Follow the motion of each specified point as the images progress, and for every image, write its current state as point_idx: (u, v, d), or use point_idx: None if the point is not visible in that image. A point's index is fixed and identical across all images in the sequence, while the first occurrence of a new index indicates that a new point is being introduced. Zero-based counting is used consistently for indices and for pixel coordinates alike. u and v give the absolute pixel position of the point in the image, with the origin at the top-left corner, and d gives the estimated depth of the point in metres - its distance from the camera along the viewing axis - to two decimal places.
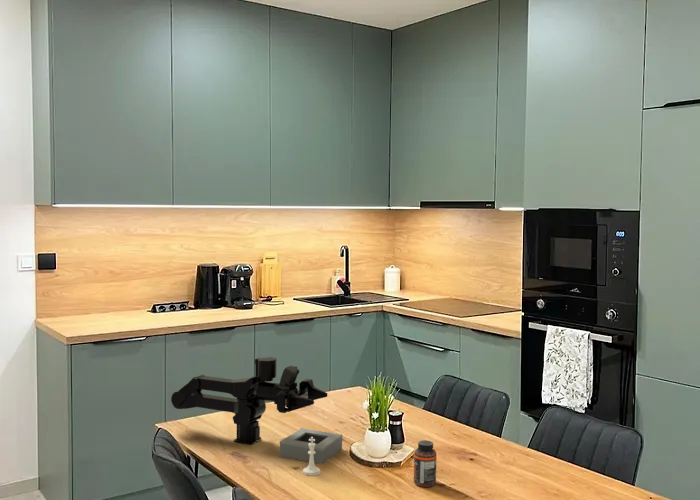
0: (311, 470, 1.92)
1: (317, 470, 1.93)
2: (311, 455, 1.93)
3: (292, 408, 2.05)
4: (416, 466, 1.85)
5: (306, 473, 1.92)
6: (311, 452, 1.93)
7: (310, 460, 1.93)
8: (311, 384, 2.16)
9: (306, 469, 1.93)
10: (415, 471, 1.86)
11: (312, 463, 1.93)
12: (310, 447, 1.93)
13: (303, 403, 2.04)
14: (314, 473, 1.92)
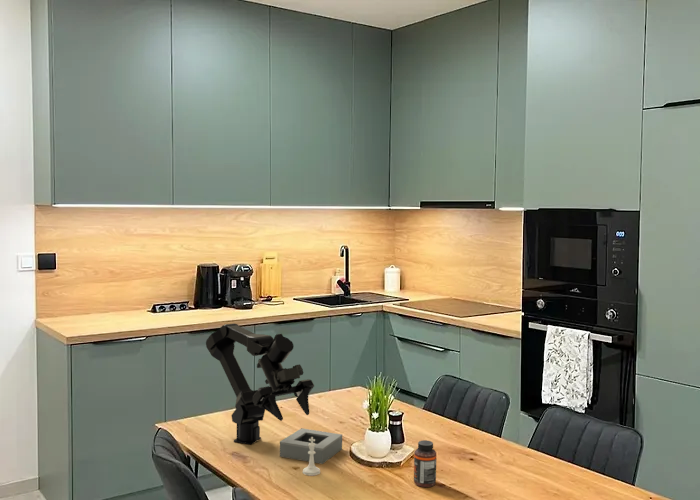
0: (311, 470, 1.92)
1: (317, 470, 1.93)
2: (311, 455, 1.93)
3: (265, 407, 1.99)
4: (416, 466, 1.85)
5: (306, 473, 1.92)
6: (311, 452, 1.93)
7: (310, 460, 1.93)
8: (306, 391, 2.05)
9: (306, 469, 1.93)
10: (415, 471, 1.86)
11: (312, 463, 1.93)
12: (310, 447, 1.93)
13: (274, 412, 1.97)
14: (314, 473, 1.92)
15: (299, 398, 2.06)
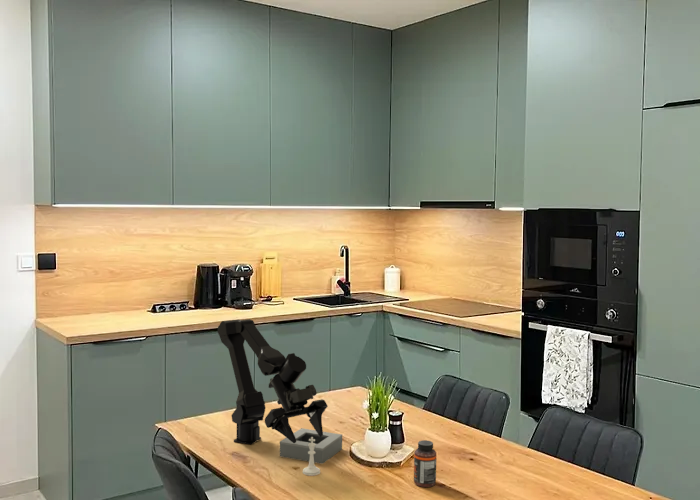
0: (311, 470, 1.92)
1: (317, 470, 1.93)
2: (311, 455, 1.93)
3: (277, 428, 1.94)
4: (416, 466, 1.85)
5: (306, 473, 1.92)
6: (311, 452, 1.93)
7: (310, 460, 1.93)
8: (319, 412, 2.00)
9: (306, 469, 1.93)
10: (415, 471, 1.86)
11: (312, 463, 1.93)
12: (310, 447, 1.93)
13: (287, 434, 1.92)
14: (314, 473, 1.92)
15: (312, 419, 2.01)
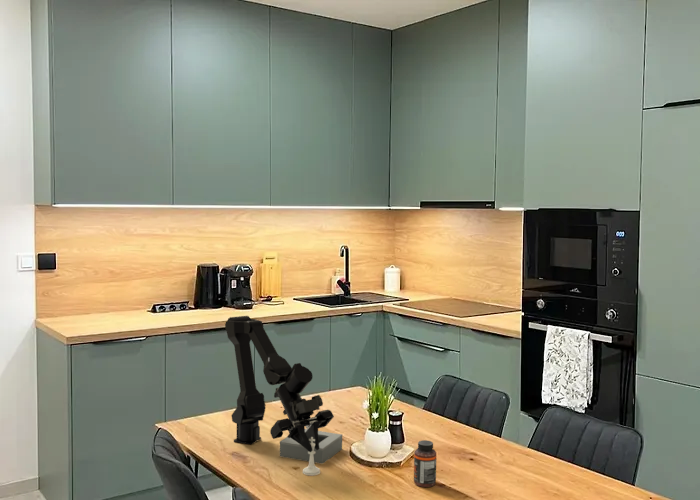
0: (311, 470, 1.92)
1: (317, 470, 1.93)
2: (311, 455, 1.93)
3: (293, 437, 1.94)
4: (416, 466, 1.85)
5: (306, 473, 1.92)
6: (311, 452, 1.93)
7: (310, 460, 1.93)
8: (316, 425, 1.96)
9: (306, 469, 1.93)
10: (415, 471, 1.86)
11: (312, 463, 1.93)
12: None
13: (303, 443, 1.93)
14: (314, 473, 1.92)
15: (308, 432, 1.97)
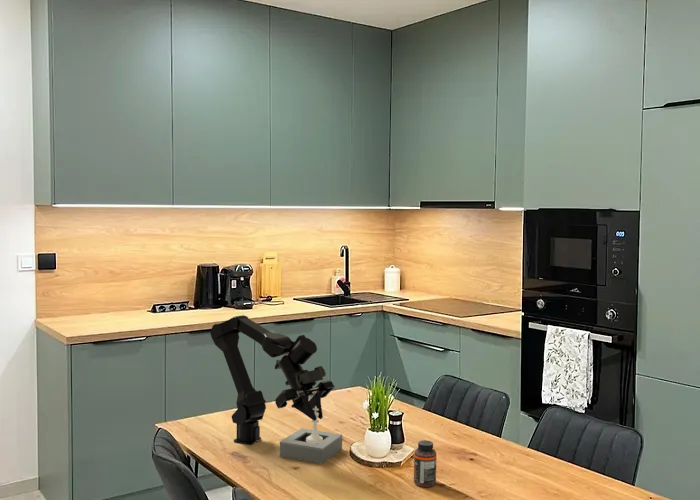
0: (315, 438, 1.98)
1: (320, 438, 1.99)
2: (315, 424, 1.99)
3: (297, 407, 2.00)
4: (416, 466, 1.85)
5: (310, 441, 1.97)
6: (315, 421, 1.98)
7: (314, 429, 1.99)
8: (319, 395, 2.01)
9: (310, 437, 1.98)
10: (415, 471, 1.86)
11: (315, 432, 1.99)
12: None
13: (307, 412, 1.98)
14: (318, 441, 1.97)
15: (311, 402, 2.02)
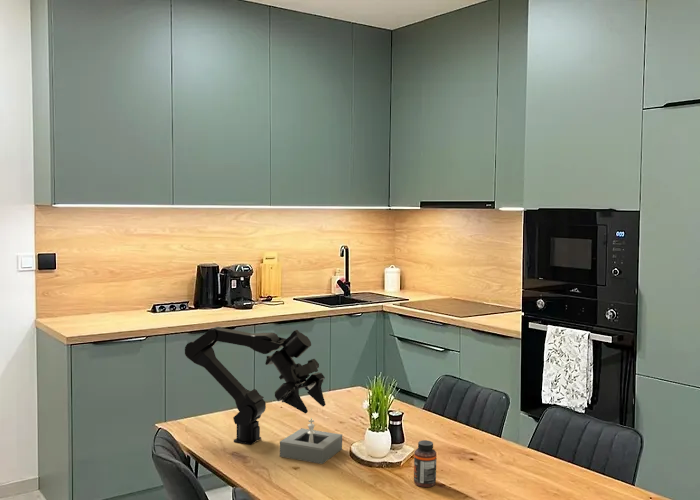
0: None
1: None
2: (311, 435, 2.09)
3: (287, 401, 2.05)
4: (416, 466, 1.85)
5: None
6: (311, 432, 2.08)
7: (310, 440, 2.09)
8: (320, 384, 2.14)
9: None
10: (415, 471, 1.86)
11: (312, 442, 2.09)
12: (310, 427, 2.08)
13: (298, 406, 2.04)
14: None
15: (312, 391, 2.14)
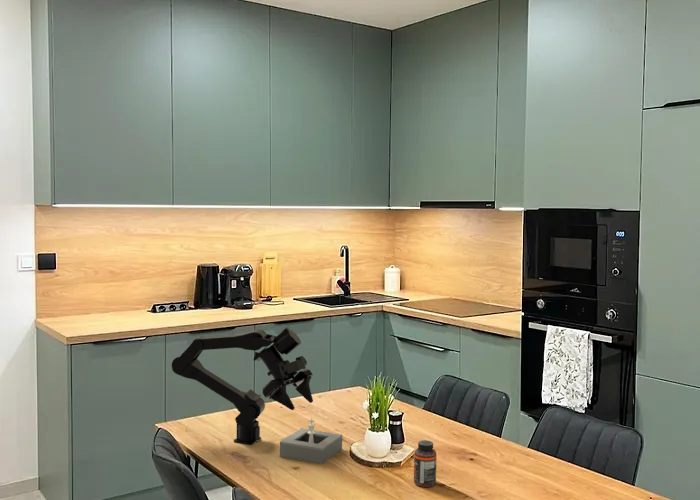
0: None
1: None
2: (311, 435, 2.09)
3: (274, 398, 2.08)
4: (416, 466, 1.85)
5: None
6: (311, 432, 2.08)
7: (310, 440, 2.09)
8: (307, 381, 2.17)
9: None
10: (415, 471, 1.86)
11: (312, 442, 2.09)
12: (310, 427, 2.08)
13: (285, 402, 2.07)
14: None
15: (300, 387, 2.18)
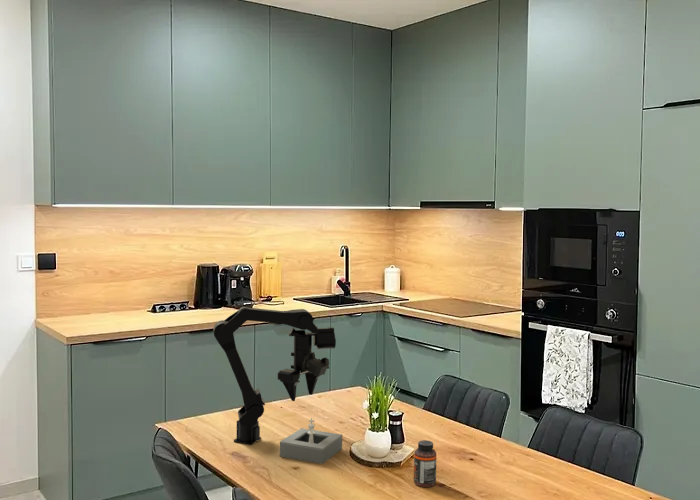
0: None
1: None
2: (311, 435, 2.09)
3: (284, 382, 2.17)
4: (416, 466, 1.85)
5: None
6: (311, 432, 2.08)
7: (310, 440, 2.09)
8: (318, 376, 2.26)
9: None
10: (415, 471, 1.86)
11: (312, 442, 2.09)
12: (310, 427, 2.08)
13: (290, 392, 2.18)
14: None
15: (309, 375, 2.27)
